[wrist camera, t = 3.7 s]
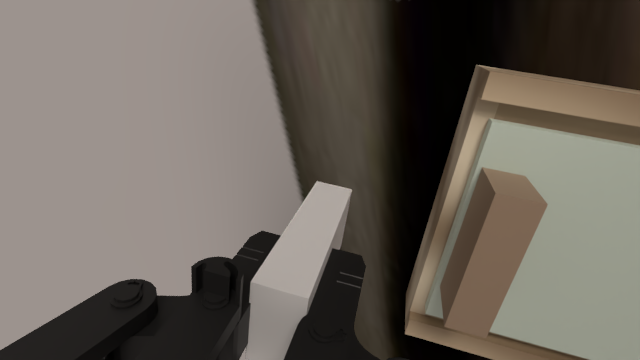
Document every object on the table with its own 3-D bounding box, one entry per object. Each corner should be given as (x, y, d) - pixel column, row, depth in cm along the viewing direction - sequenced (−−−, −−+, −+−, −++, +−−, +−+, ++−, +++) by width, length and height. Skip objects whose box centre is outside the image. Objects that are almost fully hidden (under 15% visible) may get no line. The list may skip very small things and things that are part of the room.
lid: (489, 118, 13) (508, 139, 11) (846, 183, 12) (984, 229, 9) (425, 305, 17) (427, 356, 15) (683, 376, 16) (742, 450, 13)
